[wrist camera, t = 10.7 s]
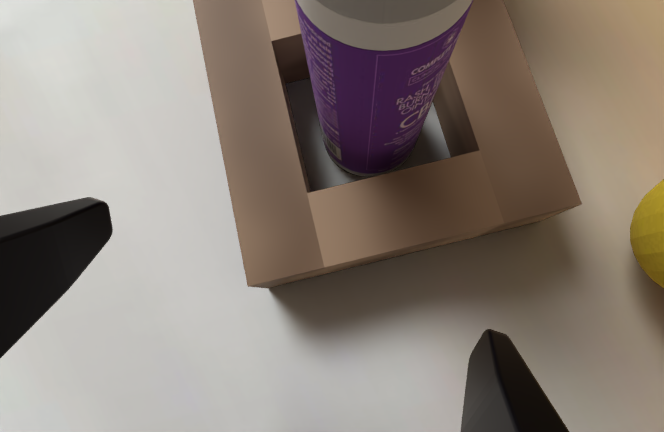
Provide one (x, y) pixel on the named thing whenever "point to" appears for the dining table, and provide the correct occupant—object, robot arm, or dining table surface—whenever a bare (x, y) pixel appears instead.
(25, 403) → the dining table surface
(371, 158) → the container
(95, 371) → the dining table surface
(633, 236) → the lemon
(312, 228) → the frame
